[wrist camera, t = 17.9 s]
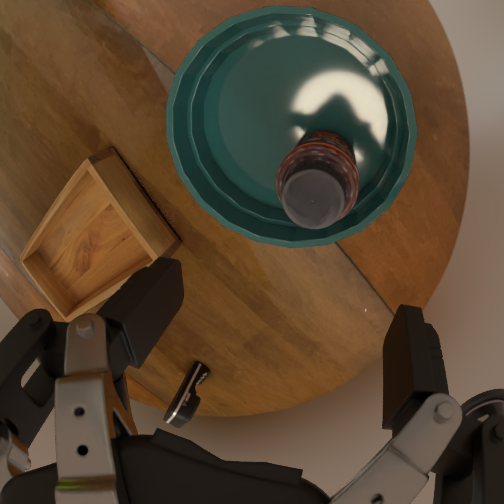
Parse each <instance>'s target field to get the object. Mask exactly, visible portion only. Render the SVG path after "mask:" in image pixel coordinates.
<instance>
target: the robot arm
mask: <svg viewBox="0 0 504 504" xmlns="http://www.w3.org/2000/svg"><path fill="white" fill-rule="evenodd" d="M183 298H184V288H183V279H182V269H181V263H180V261H179V260H176V259H172V258H167V257H163V256H159V257H158V258H157V259H156V260H155V261H154V262H153V263H152V264H151V265H150V266H149V267H147V266H145V267H143V268H141V269H140V270H138V271H136V272H134V273H133V274H132V275H131V276H130V277H129V278H128V279H127V280H126V283H124V284H123V285H122V286H121V287H120V289H118V290H117V291H116V292H115V293H114V294H113V295H112V296H111V298H110V299H109V300H108V301H107V302H106V303H105V304H104V305H103V306H102V307H101V308H100V309H99V311H98V312H97V313H96V314H93V313H87V314H83V315H80V316H78V317H76V318H75V319H73V320H72V321H71V322H70V323H66V322H56V321H53V319H52V317H51V314H50V313H49V311H47V310H45V309H35V310H32V311H30V312H28V313H27V314H25V315H24V316H23V317H22V318H21V320H20V321H19V322H18V323H17V324H16V325H15V326H14V327H13V329H12V330H11V331H10V332H9V333H8V334H7V335H6V336H5V338H4V339H3V340H2V341H1V342H0V504H411V502H412V501H413V500H414V499H415V498H416V496H417V495H418V494H419V493H420V491H421V490H422V489H423V487H424V486H425V485H426V483H427V482H428V480H429V476H428V473H429V471H431V472H434V473H436V478H435V490H434V500H433V504H504V400H503V399H502V398H492V399H488V400H485V401H482V402H480V403H478V404H476V405H474V406H473V407H471V408H470V409H469V410H467V411H466V412H465V413H464V414H462V410H461V407H460V405H459V403H458V402H457V401H456V400H455V399H454V398H453V397H451V396H450V395H449V391H448V384H447V379H446V372H445V367H444V361H443V359H442V357H443V356H442V351H441V349H440V348H441V346H440V342H439V337H438V334H437V332H436V331H435V329H434V328H433V326H432V325H431V324H428V323H425V322H424V318H423V313H422V309H421V308H420V307H415V306H409V305H403V304H401V305H400V306H399V307H398V309H397V312H396V314H395V316H394V319H393V321H392V323H391V325H390V327H389V330H388V332H387V334H386V337H385V340H384V344H383V422H382V429H388V430H392V438H391V439H390V440H389V441H388V443H387V444H386V445H385V446H384V447H383V448H382V449H381V450H380V451H379V452H378V453H377V454H376V455H375V456H374V457H373V458H372V459H371V461H370V462H368V463H367V465H366V466H364V468H363V469H361V470H360V471H359V472H358V473H357V474H356V475H355V476H354V477H353V478H352V479H351V480H350V481H348V482H347V483H346V484H345V485H344V486H343V487H342V488H340V489H339V490H338V491H337V492H336V493H335V494H333V495H332V496H331V497H329V496H328V495H327V494H326V493H325V492H324V491H323V490H322V489H320V488H319V487H317V486H316V485H315V484H313V483H311V482H310V481H308V480H306V479H304V478H301V476H302V472H303V470H302V469H296V468H291V467H286V466H281V465H276V464H272V463H267V462H239V461H225V460H222V459H220V458H218V457H216V456H215V455H213V454H211V453H210V452H208V451H206V450H204V449H203V448H201V447H200V446H198V445H197V444H195V443H194V442H192V441H190V440H188V439H185V438H182V437H179V436H177V435H174V434H172V433H169V432H166V431H164V430H161V429H159V428H157V429H156V431H155V433H154V435H142V434H141V435H138V432H137V429H136V426H135V423H134V421H133V417H132V413H131V408H130V402H129V395H128V389H127V382H126V375H125V372H124V370H125V369H126V367H127V366H128V365H130V366H133V367H135V368H137V369H139V368H140V367H141V365H142V364H143V362H144V361H145V359H146V358H147V356H148V355H149V353H150V352H151V350H152V349H153V347H154V346H155V344H156V343H157V341H158V340H159V338H160V337H161V335H162V334H163V332H164V331H165V329H166V328H167V326H168V325H169V324H170V322H171V321H172V319H173V318H174V316H175V315H176V313H177V312H178V310H179V309H180V307H181V305H182V302H183ZM36 358H37V360H38V362H39V363H40V365H39V367H38V368H37V369H36V371H35V372H34V373H33V375H32V376H31V377H30V379H29V380H28V382H27V383H26V384H25V386H24V387H23V388H22V387H21V379H22V376H23V375H24V374H25V372H26V371H27V370H28V368H29V367H30V366H31V364H32V363H33V362H34V361H35V359H36ZM54 406H55V444H56V459H57V462H56V463H53V464H50V465H47V466H43V467H40V468H37V469H34V470H31V471H27V472H25V470H28V469H29V468H30V467H31V461H30V459H29V458H28V448H29V447H30V445H31V443H32V441H33V440H34V438H35V436H36V435H37V433H38V432H39V430H40V428H41V427H42V425H43V423H44V422H45V420H46V419H47V417H48V416H49V414H50V412H51V411H52V409H53V408H54Z"/></svg>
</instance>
